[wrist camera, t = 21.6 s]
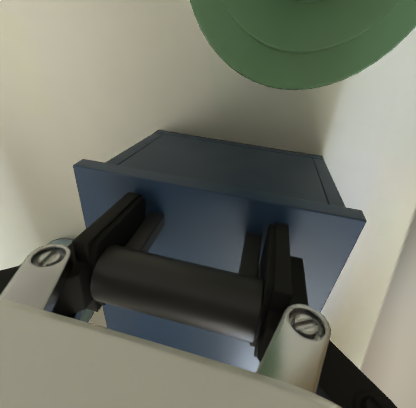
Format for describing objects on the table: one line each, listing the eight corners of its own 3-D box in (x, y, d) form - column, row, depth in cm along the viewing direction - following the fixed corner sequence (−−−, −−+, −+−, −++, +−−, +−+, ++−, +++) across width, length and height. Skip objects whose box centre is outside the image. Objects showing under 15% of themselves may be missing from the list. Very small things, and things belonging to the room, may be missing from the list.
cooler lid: (82, 158, 13) (-25, 223, 8) (362, 210, 11) (418, 330, 6) (120, 358, 23) (81, 437, 18) (268, 403, 21) (265, 502, 16)
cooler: (158, 129, 21) (97, 166, 14) (322, 156, 19) (349, 213, 12) (157, 287, 30) (120, 358, 23) (270, 315, 28) (268, 402, 21)
